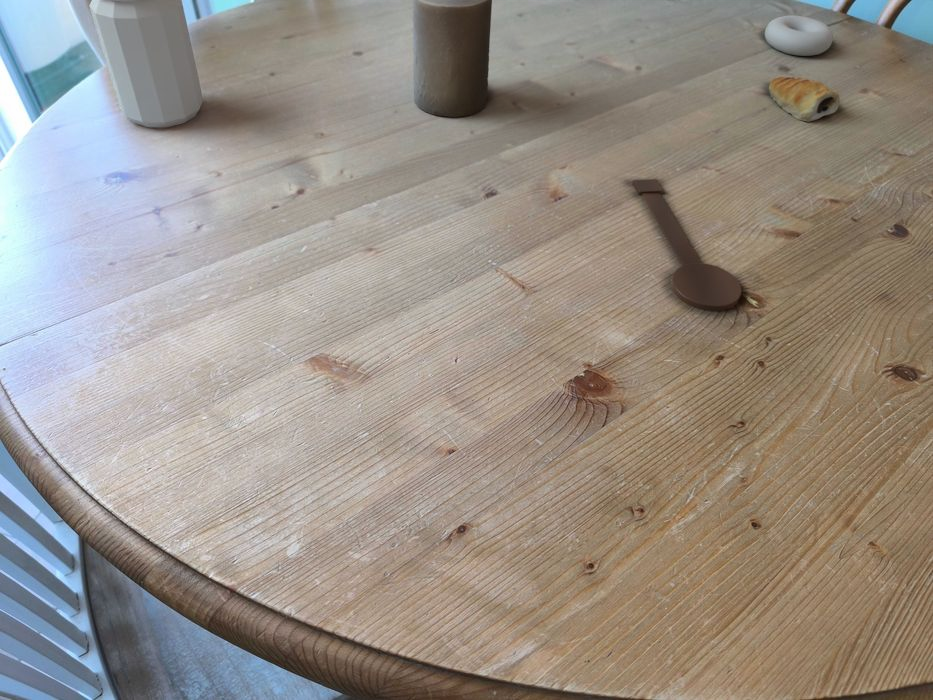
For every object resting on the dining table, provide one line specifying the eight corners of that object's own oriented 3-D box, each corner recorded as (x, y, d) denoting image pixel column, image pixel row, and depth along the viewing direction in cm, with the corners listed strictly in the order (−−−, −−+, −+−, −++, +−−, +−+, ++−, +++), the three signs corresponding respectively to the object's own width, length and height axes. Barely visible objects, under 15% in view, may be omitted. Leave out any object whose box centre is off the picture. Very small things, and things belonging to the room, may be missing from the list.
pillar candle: (499, 110, 97) (508, -12, 87) (431, 123, 94) (431, -2, 83) (466, 79, 103) (471, -38, 93) (401, 91, 100) (398, -29, 90)
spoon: (669, 189, 85) (672, 176, 84) (747, 316, 70) (752, 303, 68) (614, 191, 84) (617, 179, 83) (682, 321, 69) (686, 308, 68)
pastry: (753, 95, 103) (762, 68, 101) (788, 87, 106) (798, 60, 103) (805, 125, 97) (816, 97, 95) (841, 115, 100) (852, 88, 97)
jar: (123, 135, 89) (73, -26, 76) (122, 99, 95) (76, -56, 83) (208, 125, 91) (174, -33, 79) (201, 90, 98) (169, -61, 85)
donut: (773, 29, 121) (752, 47, 115) (780, 7, 119) (759, 24, 113) (835, 45, 118) (817, 65, 111) (844, 23, 115) (826, 41, 109)
